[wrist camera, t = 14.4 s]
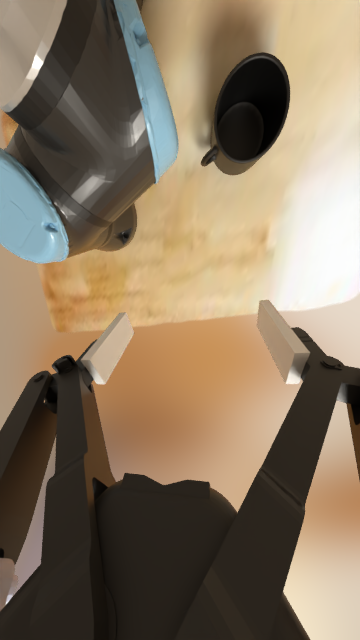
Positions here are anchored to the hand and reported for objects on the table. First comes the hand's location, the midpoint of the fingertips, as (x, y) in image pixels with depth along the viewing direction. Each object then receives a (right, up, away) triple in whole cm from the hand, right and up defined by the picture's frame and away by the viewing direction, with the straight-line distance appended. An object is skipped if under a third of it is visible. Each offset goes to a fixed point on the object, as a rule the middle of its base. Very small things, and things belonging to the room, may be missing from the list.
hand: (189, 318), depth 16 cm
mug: (+8, +31, +13) cm, 35 cm away
